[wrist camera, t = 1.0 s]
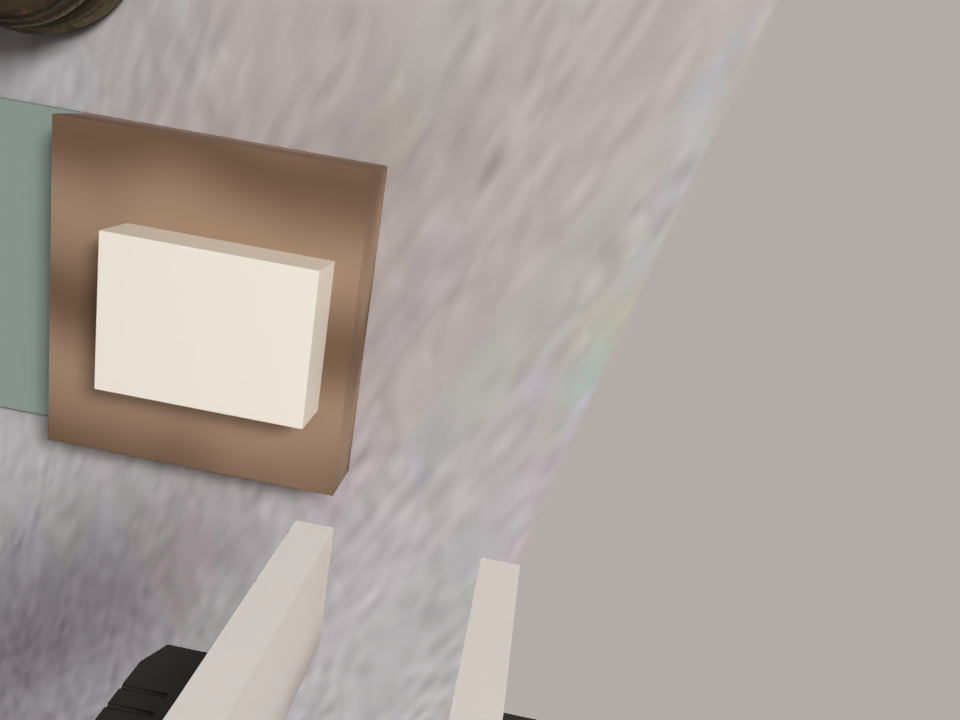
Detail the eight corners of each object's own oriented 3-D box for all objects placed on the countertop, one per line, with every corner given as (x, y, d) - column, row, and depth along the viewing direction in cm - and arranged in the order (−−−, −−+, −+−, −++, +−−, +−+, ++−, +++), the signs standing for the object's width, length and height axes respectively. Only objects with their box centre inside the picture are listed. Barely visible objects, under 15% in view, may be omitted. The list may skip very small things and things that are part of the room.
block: (127, 222, 32) (99, 230, 30) (334, 261, 31) (319, 270, 29) (121, 372, 34) (94, 388, 32) (317, 410, 33) (302, 429, 31)
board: (89, 113, 33) (52, 113, 31) (387, 166, 33) (373, 170, 30) (81, 418, 37) (48, 439, 35) (348, 470, 37) (332, 495, 34)
